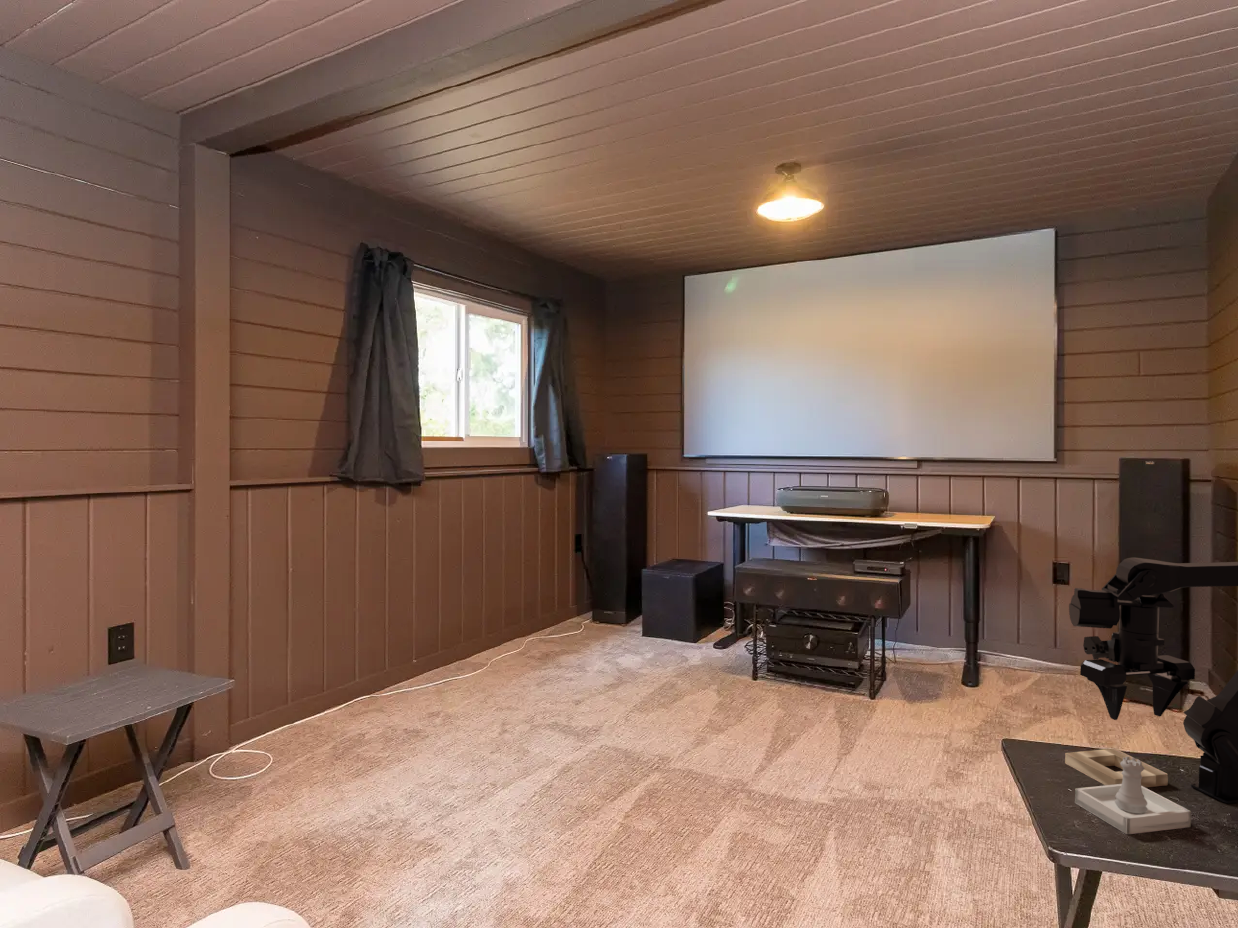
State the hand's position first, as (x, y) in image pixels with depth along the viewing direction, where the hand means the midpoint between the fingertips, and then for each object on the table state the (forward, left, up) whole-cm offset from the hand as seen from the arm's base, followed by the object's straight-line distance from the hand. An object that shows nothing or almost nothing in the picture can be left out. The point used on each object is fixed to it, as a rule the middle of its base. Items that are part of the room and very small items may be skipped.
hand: (1135, 717), depth 131 cm
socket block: (0, -4, -12) cm, 13 cm away
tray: (+10, +9, -12) cm, 18 cm away
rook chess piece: (+10, +9, -11) cm, 17 cm away
